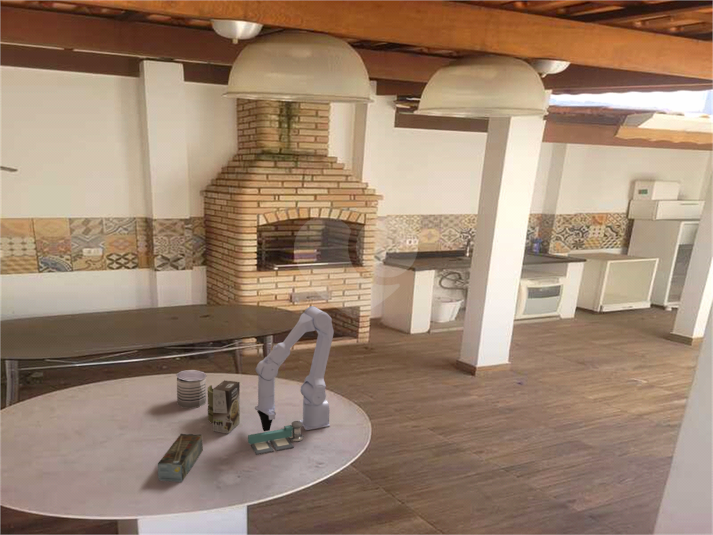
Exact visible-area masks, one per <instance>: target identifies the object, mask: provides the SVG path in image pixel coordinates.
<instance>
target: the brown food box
mask: <svg viewBox="0 0 713 535" xmlns="http://www.w3.org/2000/svg"><path fill="white" fill-rule="evenodd" d="M213 389H214V388H213V385H212V384H210V385H209V386H208V387H207V420H209V421H210V422H211V423H210V422H209V421H208V422H209V423H210V424H212V423H213Z"/></svg>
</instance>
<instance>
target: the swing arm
mask: <svg viewBox="0 0 713 535" xmlns="http://www.w3.org/2000/svg"><path fill="white" fill-rule="evenodd" d="M283 427H284V428H281V429H275V430H269V431H263V432H257V433H253V434H247V443H248V445H250V444H254V443H259V442H265V441H268V442H271V441H270V440H276V439H281V438H287V437H288V438H289V437H292V434H293V428H300V427H301V428H302V427H303V426H302V422H300V421H299V420H295V421H292V422H291V424H290V425H289V424H288V425H285V426H284V425H283Z"/></svg>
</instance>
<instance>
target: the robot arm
mask: <svg viewBox="0 0 713 535" xmlns="http://www.w3.org/2000/svg"><path fill="white" fill-rule="evenodd" d="M317 307H318V306H313V305H312V306H311V305H310V306H309V307H307V308H306V309H305V310H304V312H303V313H301V315H300V316H299V319H298V321H297V323H296V324H295V326H294V327H293V328H292V329H291V331H290V332H289V333H288V335H287V336H286V337H285V339H284V340H283V342H277V344H274V345H273V346H272V350H271V351H270V352H269V354H268V355H267V356H265V357H264V358H263V360H260V361H259V362H258V363H257V365H256V367H255V372H256V374H258V380H257V382H258V383H257V393H258V394H257V395H258V396H257V402H258V403H257V405H256V406H254V410H255V411H257V414H258V416H259V418H260V422H261V423H260V424H261V427H262V428H261V429H262V430H263V432H268V431H271V427H272V423H273V420H275V419H276V414H277V413H276V404H275V403H276V401H275V400H276V399H275V398H276V397H275V395H276V394H275V393H276V392H275V391H276V389H275V388H276V387H275V386H276V385H275V384H276V383H275V382H276V381H275V380H276V378H275V377H277V376H278V373H279V369H280V367H281V366H282V365H283V363H284V362H285V361H286V359H288V357H289V356H290V355H291V348H292V347H293V346H294V345H295V344H296V343H297V342H298V341H299V340H300V339H301V338H302V337H303V335H304V334H305V333H308V332H314V331H316V332H317V338H316V343H315V347H314V352H313V356H312V361H311V365H310V371H309V374H308V375H307V376H306V377H305V378H304V380H303V383H302V384H301V386H300V393H301V395H302V396H303V399H302V419H299V420H298V421H300V422H302V427H303V428H304V430H305V431H309V430H311V431H312V430H315V429H321V428H327V427H330V426H331V424H330V404H329V402H328V400H327V399H326V397H327V393H326V387H327V385H326V382H325V373H326V370H327V369H326V367H327V364H328V361H329V357H330V356H329V355H330V351H331V347H332V342H333V340H334V339H333V337H334V332H335V330H334V327H333V323H332V321H333V319H332V317H331V316H330V315H329V314H328V313H327V312H326V311H323V310H321V309H319V308H317Z"/></svg>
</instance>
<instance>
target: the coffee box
mask: <svg viewBox="0 0 713 535" xmlns="http://www.w3.org/2000/svg"><path fill="white" fill-rule="evenodd" d="M240 383H241V382H240V381H233V380H225V379H224V380H223V381H221V383H219V384H218V385H216V386H215V387H214V388H212V389H213V424H212V430H213V432H215V433H216V432H217V433H218V432H219V433H224V434H227V433H228V434H230V433H231V432H232V431H233V430H234V429H235V428H236V427H237V426H238V425H239V424H240V421H241V416H240V415H241V414H240V408H241V406H240V402H241V399H240V395H241V394H240V391H241V390H240V385H241V384H240Z"/></svg>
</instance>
